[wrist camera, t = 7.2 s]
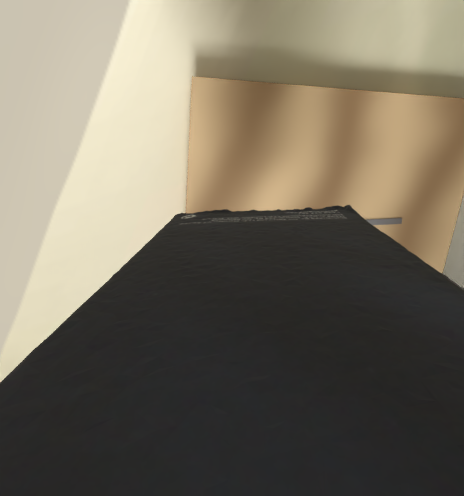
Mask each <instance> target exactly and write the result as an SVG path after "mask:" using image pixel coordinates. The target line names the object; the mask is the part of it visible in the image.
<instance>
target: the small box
mask: <svg viewBox="0 0 464 496" xmlns="http://www.w3.org/2000/svg"><path fill="white" fill-rule="evenodd" d="M0 496H464V288H462V287H460V286H459V285H457V284H456V283H454V282H453V281H452V280H450V279H449V278H448V277H447V276H445V275H444V274H442V273H440V272H439V271H437V270H436V269H434V268H433V267H431V266H430V265H428V264H427V263H425V262H424V261H423V260H422V259H420V258H419V257H418V256H417V255H415V254H413V253H412V252H410V251H408V250H407V249H406V248H405V247H403V246H402V245H401V244H400V243H398V242H396V241H395V240H394V239H392V238H391V237H389V236H388V235H387V234H385V233H384V232H381V231H380V230H379V229H377V228H376V227H375V226H373V225H371V224H370V223H369V222H368V221H367V220H365V219H364V218H363V217H362V216H360V214H359V213H358V212H357V211H355V210H354V209H353V208H352V207H351V205H346V206H344V207H342V206H338V205H337V206H331V207H325V208H322V209H312V208H310V207H307V208H304V209H293V210H280V209H278V210H272V211H270V210H266V211H258V210H250V211H230V210H227V209H222V210H213V211H203V212H196V213H181V214H177V215H175V216H174V218H173V219H172V220H171V221H170V222H169V223H168V224H166V225H165V227H164V228H163V229H162V230H160V231H159V232H158V233H157V234H156V235H155V236H154V237H153V238H152V239H151V240H150V241H149V242H148V243H147V244H146V245H145V246H144V247H143V248H142V249H141V250H140V251H139V252H138V253H137V254H135V255H134V256H133V257H132V258H131V259H130V260H129V261H128V262H127V263H126V264H125V265H124V266H123V267H122V268H121V269H120V270H119V271H118V272H117V273H115V274H114V275H113V276H112V277H111V278H110V280H109V281H107V282H106V283H105V284H104V285H103V286H102V287H101V288H100V289H99V290H98V291H97V292H95V293H94V294H93V295H92V296H91V297H90V298H89V299H88V300H87V301H86V302H85V303H84V304H82V305H81V306H80V307H79V308H78V309H77V310H76V311H75V312H74V313H73V314H72V315H71V316H70V317H69V318H68V319H67V320H66V321H65V322H63V323H62V324H61V325H60V326H59V327H58V328H57V329H56V330H55V331H54V332H53V333H52V334H51V335H50V336H49V337H48V338H47V339H46V340H44V341H43V342H42V343H41V344H40V345H39V346H38V347H36V348H35V349H34V350H33V351H32V352H31V353H30V354H29V355H28V356H27V357H26V358H25V359H24V360H23V361H22V362H21V363H20V364H19V365H18V366H17V367H16V368H15V369H14V370H13V371H12V372H11V373H10V374H9V375H8V376H7V377H6V378H5V379H4V380H3V381H2V382H1V383H0Z"/></svg>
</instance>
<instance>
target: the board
mask: <svg viewBox="0 0 464 496" xmlns="http://www.w3.org/2000/svg"><path fill="white" fill-rule="evenodd" d="M463 194H464V99H463V98H451V97H438V96H426V95H414V94H402V93H389V92H377V91H365V90H352V89H340V88H328V87H316V86H303V85H291V84H279V83H266V82H254V81H242V80H229V79H217V78H205V77H193V76H192V88H191V110H190V132H189V154H188V177H187V199H186V213H196V212H203V211H213V210H222V209H227V210H230V211H250V210H258V211H266V210H270V211H272V210H278V209H280V210H293V209H304V208H307V207H310V208H312V209H322V208H325V207H331V206H337V205H338V206H342V207H344V206H346V205H351V207H352V208H353V209H354V210H355V211H357V212H358V213H359V214H360V216H362V217H363V218H364V219H365V220H367V221H368V222H369V223H370V224H371V225H373V226H375V227H376V228H377V229H379V230H380V231H381V232H384V233H385V234H387V235H388V236H389V237H391V238H392V239H394V240H395V241H396V242H398V243H400V244H401V245H402V246H403V247H405V248H406V249H407V250H408V251H410V252H412V253H413V254H415V255H417V256H418V257H419V258H420V259H422V260H423V261H424V262H425V263H427V264H428V265H430V266H431V267H433V268H434V269H436V270H437V271H439V272H440V273H443V269H444V265H445V262H446V258H447V254H448V250H449V247H450V243H451V239H452V235H453V232H454V228H455V224H456V220H457V217H458V213H459V209H460V205H461V202H462V198H463Z"/></svg>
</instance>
